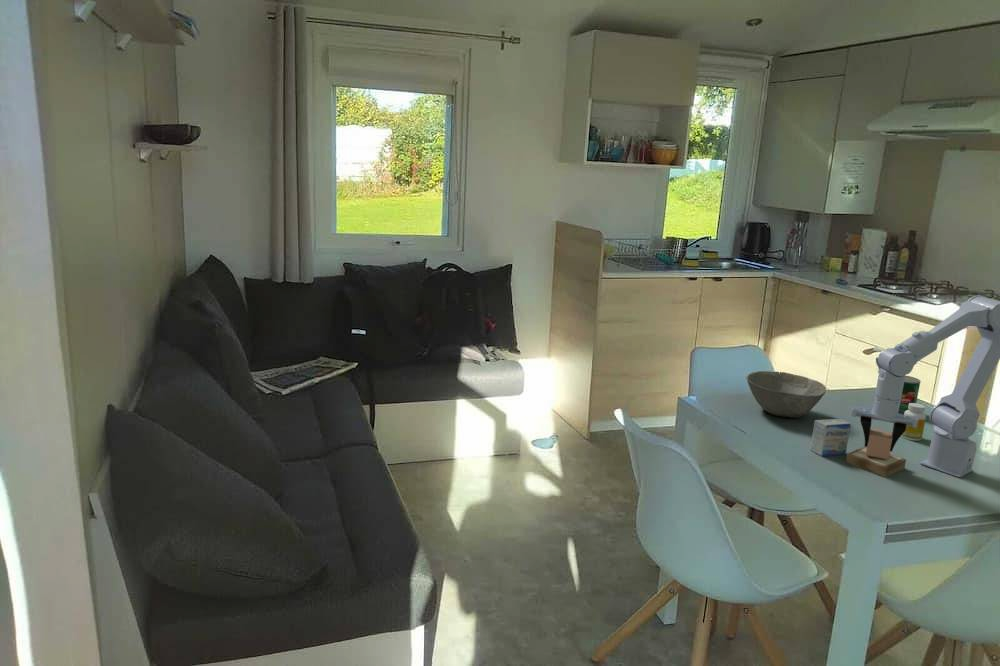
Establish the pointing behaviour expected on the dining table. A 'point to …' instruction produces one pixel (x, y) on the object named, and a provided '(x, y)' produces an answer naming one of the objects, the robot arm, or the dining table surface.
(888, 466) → the walnut plinth
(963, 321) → the robot arm
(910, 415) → the supplement bottle
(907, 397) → the canned tomato
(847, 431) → the medicine box
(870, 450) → the block
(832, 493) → the dining table surface
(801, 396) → the ceramic bowl
